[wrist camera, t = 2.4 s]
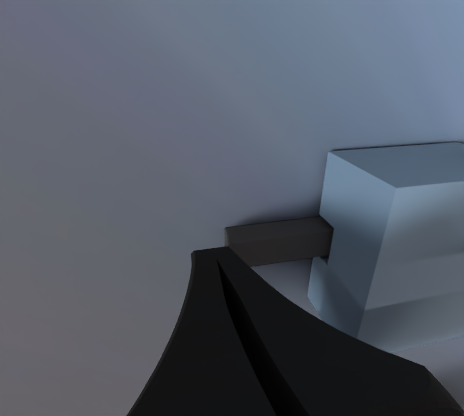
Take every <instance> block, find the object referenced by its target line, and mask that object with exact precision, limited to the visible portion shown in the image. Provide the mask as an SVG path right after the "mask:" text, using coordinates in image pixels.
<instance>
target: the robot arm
mask: <svg viewBox="0 0 464 416" xmlns="http://www.w3.org/2000/svg"><path fill="white" fill-rule="evenodd" d="M191 261H192V268H191V275H190V280H189V285H188V289H187V293H186V296H185V300H184V303H183V306H182V309H181V312H180V315H179V318H178V321H177V323H176V326H175V328H174V330H173V333H172V335H171V338H170V340H169V342H168V344H167V346H166V348H165V350H164V352H163V354H162V357H161V358H160V360H159V362H158V364H157V366H156V368H155V370H154V372H153V373H152V375H151V377H150V378H149V380H148V382H147V384H146V385H145V387H144V389H143V390H142V392H141V394H140V396H139V397H138V399H137V401H136V402H135V404H134V405H133V407H132V408H131V410H130V411H129V413H128V414H127V416H464V411H463V410H462V408H461V407H460V405H459V404H458V403H457V402H456V401H455V400H454V398H453V397H452V396H451V395H450V394H449V393H448V392H447V390H446V389H445V388H444V387H443V386H442V385H441V383H440V382H439V381H438V380H437V379H436V378H435V377H434V376H433V375H432V374H431V373H430V372H429V371H428V370H427V369H426V368H425V366H422V365H420V364H417V363H415V362H412V361H409V360H407V359H404V358H402V357H399V356H396V355H394V354H391V353H389V352H386V351H383V350H381V349H378V348H376V347H374V346H372V345H370V344H367V343H365V342H363V341H361V340H358V339H356V338H354V337H352V336H350V335H348V334H346V333H344V332H342V331H340V330H338V329H336V328H334V327H333V326H331V325H329V324H327V323H325V322H323V321H322V320H320V319H318V318H316V317H315V316H313V315H311V314H310V313H308V312H306V311H305V310H303V309H302V308H300V307H299V306H297V305H296V304H294V303H293V302H291V301H290V300H288V299H287V298H286V297H284V296H283V295H282V294H281V293H279V292H278V291H277V290H275V289H274V288H273V287H272V286H270V285H269V284H268V283H267V282H266V281H265V280H263V279H262V278H261V277H260V276H259V275H258V274H257V273H256V272H254V271H253V270H252V269H251V268H250V267H249V266H248V265H247V264H246V263H245V262H244V261H243V260H242V259H241V258H240V257H239V256H238V255H237V254H236V253H235V252H234V251H233V250H232V249H231V248H230V247H229V246H226V247H219V248H211V249H204V250H196V251H193V252H192V253H191Z"/></svg>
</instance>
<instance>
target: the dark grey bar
mask: <svg viewBox="0 0 464 416" xmlns="http://www.w3.org/2000/svg"><path fill="white" fill-rule="evenodd" d="M333 232H334V228H333V227H332V226H331V225H330V224H329V223H328V222H327V221H326V220H325V219H324V218H323V217H322V216H320V217H312V218H304V219H295V220H287V221H278V222H270V223H262V224H253V225H245V226H237V227H228V228H225V247H226V246H229V247H230V248H231V249H232V250H233V251H234V252H235V253H236V254H237V255H238V256H239V257H240V258H241V259H242V260H243V261H244V262H245V263H246V264H247V265H248V266H249V267H253V266H259V265H266V264H273V263H280V262H286V261H293V260H300V259H307V258H313V257H320V256H327V255H330V249H331V243H332V237H333Z"/></svg>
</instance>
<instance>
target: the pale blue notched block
mask: <svg viewBox="0 0 464 416" xmlns="http://www.w3.org/2000/svg"><path fill="white" fill-rule="evenodd" d="M319 214H320V215H321V216H322V217H323V218H324V219H325V220H326V221H327V222H328V223H329V224H330V225H331V226H332V227H333V228H334V232H333V237H332V243H331V249H330V255H327V256H320V257H313V261H312V267H311V274H310V281H309V288H308V295H307V296H308V298H309V299H310V301H311V302H312V304H313V305H314V307H315V308H316V310H317V312H318V313H319V315H320V316H321V318H322V319H323V321H324V322H325V323H327V324H329V325H331V326H333V327H334V328H336V329H338V330H340V331H342V332H344V333H346V334H348V335H350V336H352V337H354V338H356V339H358V340H361V341H363V342H365V343H367V344H370V345H372V346H374V347H376V348H378V349H381V350H383V351H386V352H389V353H394V352H399V351H403V350H407V349H411V348H416V347H420V346H424V345H429V344H433V343H437V342H442V341H446V340H450V339H454V338H459V337H463V336H464V144H462V143H458V142H453V143H439V144H425V145H411V146H397V147H383V148H369V149H355V150H341V151H328V157H327V164H326V171H325V177H324V184H323V191H322V198H321V205H320V212H319Z"/></svg>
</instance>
